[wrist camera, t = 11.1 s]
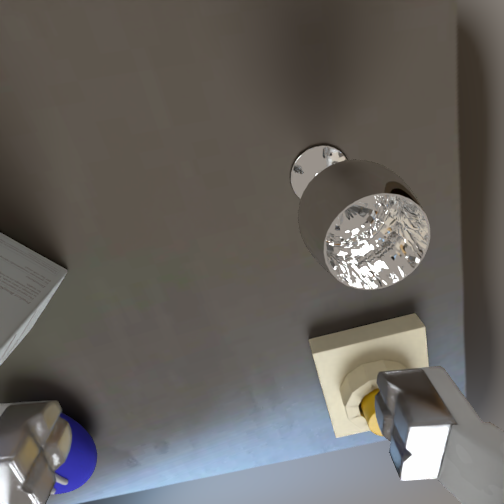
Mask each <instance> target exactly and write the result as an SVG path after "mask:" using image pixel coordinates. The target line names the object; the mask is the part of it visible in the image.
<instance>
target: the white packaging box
mask: <svg viewBox="0 0 504 504" xmlns="http://www.w3.org/2000/svg"><path fill="white" fill-rule="evenodd" d="M67 272H68V270H66V269H65V268H63V267H61V266H59V265H57V264H56V263H54V262H52V261H50V260H49V259H47V258H45V257H43V256H41V255H40V254H38V253H36V252H34V251H33V250H31V249H29V248H27V247H25V246H24V245H22V244H20V243H18V242H16V241H15V240H13V239H11V238H9V237H8V236H6V235H4V234H2V233H1V232H0V365H1V364H2V363H3V362H4V360H5V359H6V358H7V357H8V356H9V354H10V353H11V352H12V351H13V350H14V349H15V347H16V346H17V345H18V344H19V343H20V342H21V340H22V339H23V338H24V337H25V336H26V334H27V333H28V332H29V331H30V330H31V328H32V327H33V325H34V324H35V322H36V320H37V319H38V317H39V316H40V314H41V313H42V311H43V310H44V308H45V307H46V305H47V304H48V302H49V300H50V299H51V297H52V296H53V294H54V293H55V291H56V290H57V288H58V286H59V285H60V283H61V282H62V280H63V279H64V277H65V275H66V274H67Z"/></svg>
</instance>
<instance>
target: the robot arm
mask: <svg viewBox="0 0 504 504" xmlns="http://www.w3.org/2000/svg"><path fill="white" fill-rule="evenodd" d="M376 383H377V385H378V388H379V390H380V391H379V392H378V393H377V394H376V395H375V413H376V418H377V422H378V425H379V428H380V431H381V433H382V435H383V436H384V437H385V438H386V439H388V440H389V441H390V442H391V444H390V451H389V453H390V455H391V458H392V460H393V463H394V465H395V468H396V470H397V472H398V475H399V477H400V480H417V479H418V480H419V479H437V478H439V479H438V481H439V482H440V483H441V484H442V485H443V486H444V487H445V488H446V489H447V490H449V491H450V492H451V493H452V494H453V495H454V496H455V497H456V498H457V499H458V500H459V501H460V502H461V503H462V504H504V431H503V430H502V429H500V428H498V427H497V426H495V425H494V424H492V423H490V422H485V423H483V422H482V420H481V419H480V417H479V416H478V415H477V413H476V412H475V410H474V409H473V408H472V406H471V405H470V404H469V402H468V401H467V399H466V398H465V397H464V395H463V394H462V393H461V391H460V390H459V388H458V387H457V386H456V384H455V383H454V381H453V380H452V379H451V377H450V376H449V375H448V373H447V372H446V370H445V369H444V368H442V367H441V366H434V367H423V368H411V369H401V370H391V371H381V372H379V373H378V375H377V382H376ZM61 412H62V408H61V406H60V404H59V402H58V401H53V400H50V401H33V402H16V403H5V404H0V504H46V502H47V500H48V498H49V496H50V493H51V491H52V489H53V487H54V485H55V483H56V476H55V471H56V470H57V469H58V468H59V467H60V466H61V465H62V464H63V463H64V462H65V461H66V458H67V456H68V454H69V451H70V448H71V442H72V431H71V427H70V425H69V423H68V421H66V420H64V419H63V418H61V417H60V414H61Z"/></svg>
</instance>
